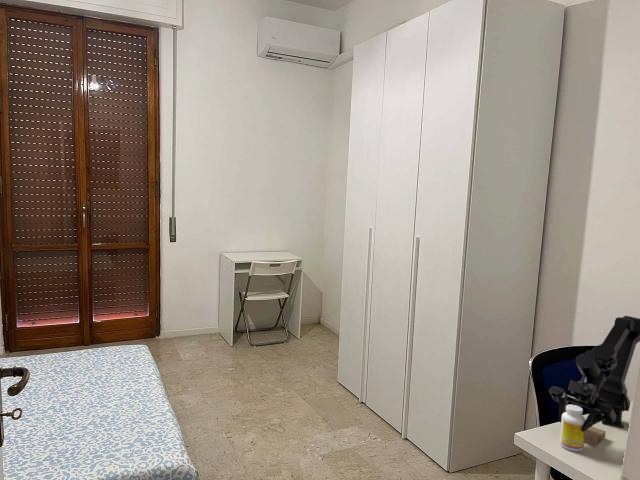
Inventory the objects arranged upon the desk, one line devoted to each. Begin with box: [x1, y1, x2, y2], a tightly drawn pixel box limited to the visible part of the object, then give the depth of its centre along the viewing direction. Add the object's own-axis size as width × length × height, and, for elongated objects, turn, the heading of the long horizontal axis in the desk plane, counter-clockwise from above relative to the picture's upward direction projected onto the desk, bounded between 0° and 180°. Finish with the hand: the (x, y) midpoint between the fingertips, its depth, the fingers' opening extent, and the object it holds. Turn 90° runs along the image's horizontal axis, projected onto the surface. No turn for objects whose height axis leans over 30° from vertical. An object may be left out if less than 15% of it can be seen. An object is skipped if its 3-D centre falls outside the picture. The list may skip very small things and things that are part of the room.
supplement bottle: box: [559, 403, 586, 452], centre depth 146 cm, size 7×7×13 cm
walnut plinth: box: [584, 426, 607, 448], centre depth 152 cm, size 8×8×2 cm
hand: (570, 426), depth 145 cm, fingers closed on supplement bottle, 7 cm apart
